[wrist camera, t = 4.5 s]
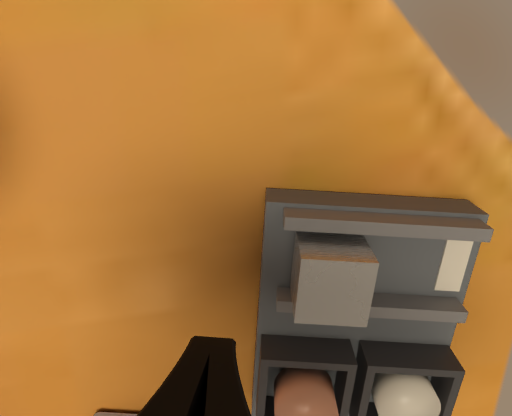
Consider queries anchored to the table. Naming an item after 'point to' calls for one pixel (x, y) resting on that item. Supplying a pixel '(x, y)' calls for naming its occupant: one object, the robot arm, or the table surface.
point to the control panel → (384, 297)
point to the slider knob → (332, 279)
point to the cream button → (404, 395)
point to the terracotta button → (304, 393)
